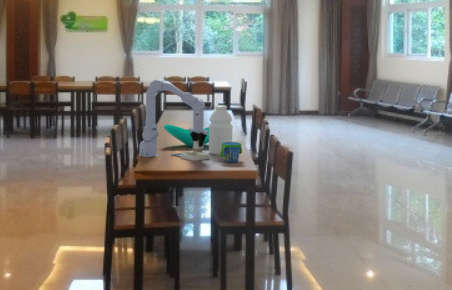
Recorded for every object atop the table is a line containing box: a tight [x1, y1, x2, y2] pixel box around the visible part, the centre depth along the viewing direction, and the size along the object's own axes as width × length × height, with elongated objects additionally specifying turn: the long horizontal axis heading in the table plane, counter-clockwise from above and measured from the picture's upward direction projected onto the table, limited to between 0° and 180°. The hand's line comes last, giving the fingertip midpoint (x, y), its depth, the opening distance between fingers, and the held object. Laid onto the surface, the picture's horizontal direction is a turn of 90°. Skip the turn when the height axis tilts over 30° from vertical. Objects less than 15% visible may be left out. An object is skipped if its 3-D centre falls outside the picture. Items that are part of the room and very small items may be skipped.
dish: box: [180, 152, 210, 162], centre depth 362 cm, size 11×11×3 cm
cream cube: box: [186, 150, 197, 156], centre depth 361 cm, size 4×4×4 cm
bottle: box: [208, 104, 234, 155], centre depth 382 cm, size 14×14×28 cm
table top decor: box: [163, 124, 209, 148], centre depth 410 cm, size 40×28×13 cm
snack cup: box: [219, 141, 243, 164], centre depth 356 cm, size 16×10×10 cm
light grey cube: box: [193, 141, 205, 150], centre depth 363 cm, size 4×4×4 cm
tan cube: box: [191, 147, 203, 153], centre depth 378 cm, size 4×4×4 cm
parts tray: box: [170, 151, 208, 158], centre depth 374 cm, size 18×10×1 cm, turn 132°
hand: (198, 146), depth 363 cm, fingers closed on light grey cube, 4 cm apart
